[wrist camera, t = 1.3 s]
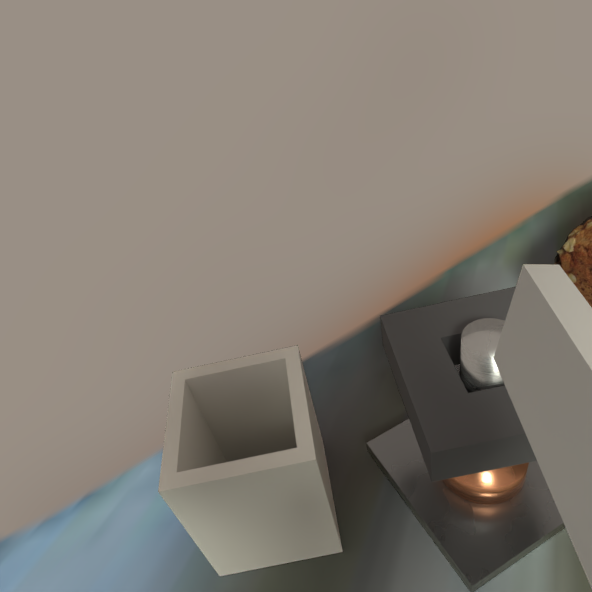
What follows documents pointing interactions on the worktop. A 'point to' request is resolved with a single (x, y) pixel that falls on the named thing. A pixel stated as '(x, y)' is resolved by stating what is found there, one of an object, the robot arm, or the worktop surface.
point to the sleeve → (248, 463)
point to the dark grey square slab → (452, 389)
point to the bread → (578, 258)
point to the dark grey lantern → (472, 485)
